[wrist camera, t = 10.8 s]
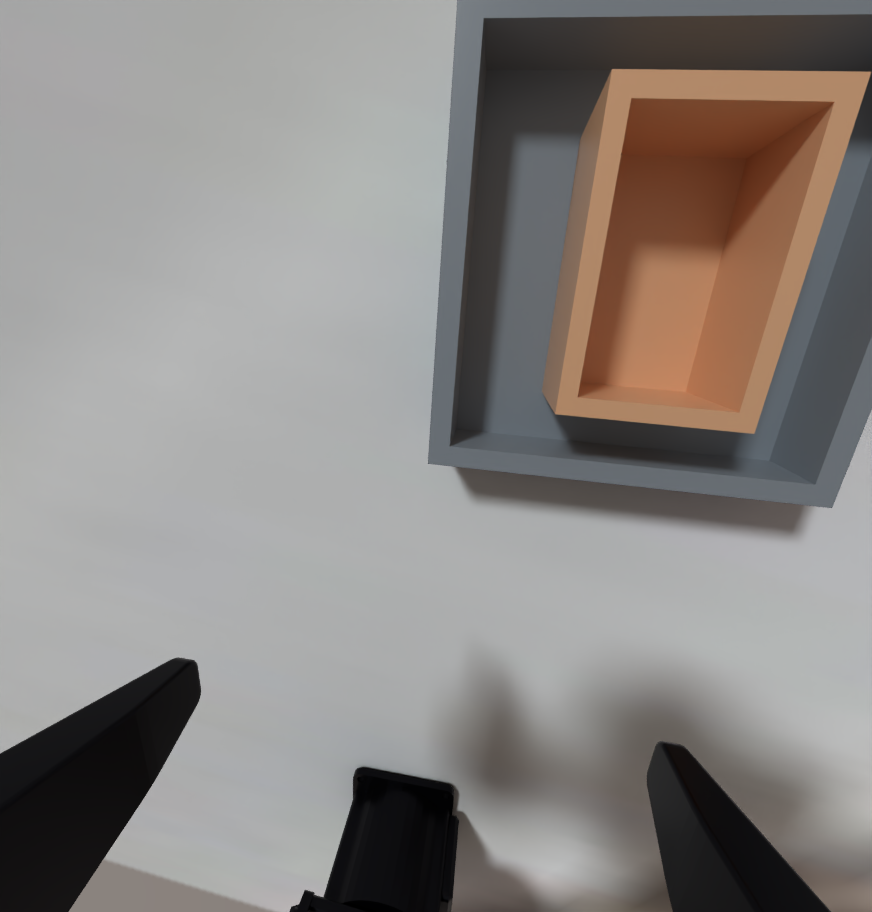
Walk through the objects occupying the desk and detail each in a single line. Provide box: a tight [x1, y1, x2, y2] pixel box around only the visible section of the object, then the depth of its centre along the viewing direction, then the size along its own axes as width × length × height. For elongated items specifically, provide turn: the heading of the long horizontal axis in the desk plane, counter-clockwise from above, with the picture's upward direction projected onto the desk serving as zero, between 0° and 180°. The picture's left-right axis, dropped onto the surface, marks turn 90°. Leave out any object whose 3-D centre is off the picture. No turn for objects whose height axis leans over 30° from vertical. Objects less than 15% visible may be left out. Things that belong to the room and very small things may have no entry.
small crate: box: [542, 69, 871, 434], centre depth 14 cm, size 6×9×4 cm, turn 176°
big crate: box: [428, 0, 872, 508], centre depth 15 cm, size 15×15×4 cm
